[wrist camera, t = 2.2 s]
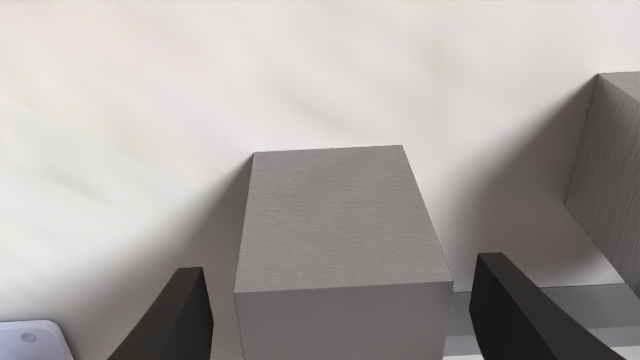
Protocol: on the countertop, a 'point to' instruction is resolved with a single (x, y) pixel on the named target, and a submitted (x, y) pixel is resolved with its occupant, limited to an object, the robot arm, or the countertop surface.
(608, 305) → the scale
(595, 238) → the block
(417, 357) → the block
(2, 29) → the countertop surface
